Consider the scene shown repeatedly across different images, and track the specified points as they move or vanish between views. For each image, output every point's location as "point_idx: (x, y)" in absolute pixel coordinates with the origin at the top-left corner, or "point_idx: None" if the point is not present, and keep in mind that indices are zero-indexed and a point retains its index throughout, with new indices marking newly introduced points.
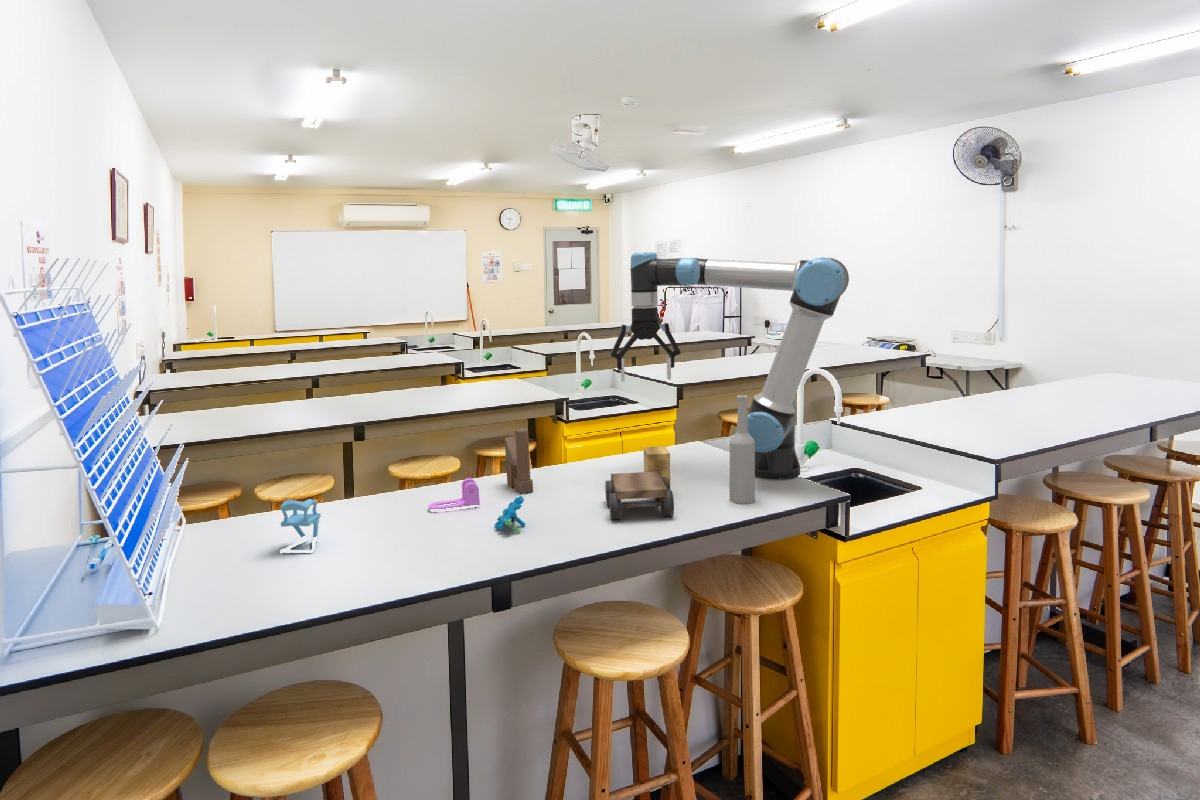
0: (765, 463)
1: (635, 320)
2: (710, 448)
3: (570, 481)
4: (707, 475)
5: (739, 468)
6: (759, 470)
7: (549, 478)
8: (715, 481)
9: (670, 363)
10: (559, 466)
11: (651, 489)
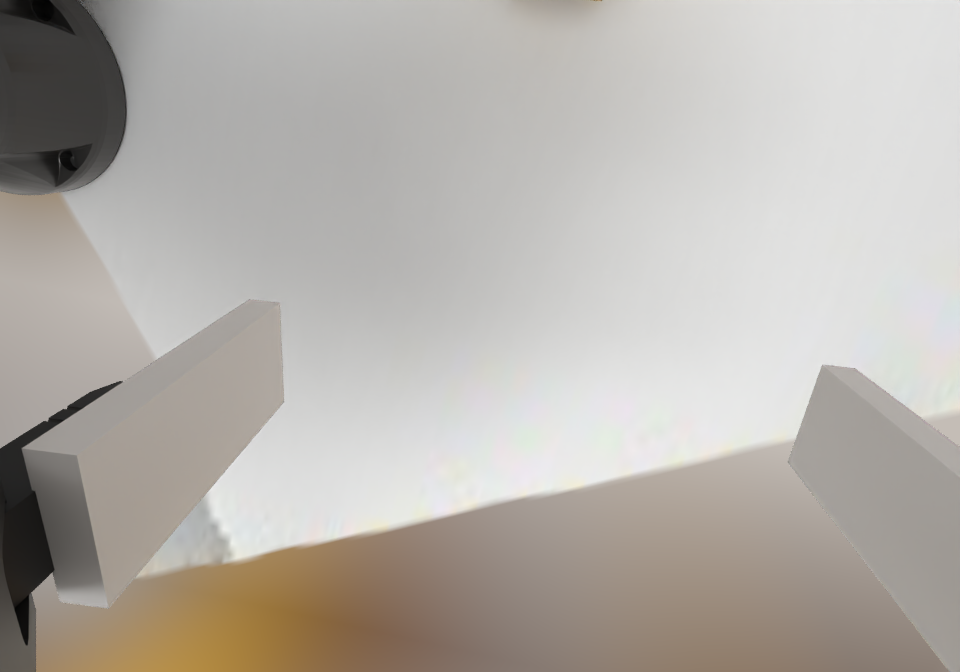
0: (12, 7)
1: None
2: None
3: (865, 208)
4: (294, 129)
5: None
6: (64, 10)
7: (930, 276)
8: (278, 27)
9: (119, 387)
10: None
11: None
